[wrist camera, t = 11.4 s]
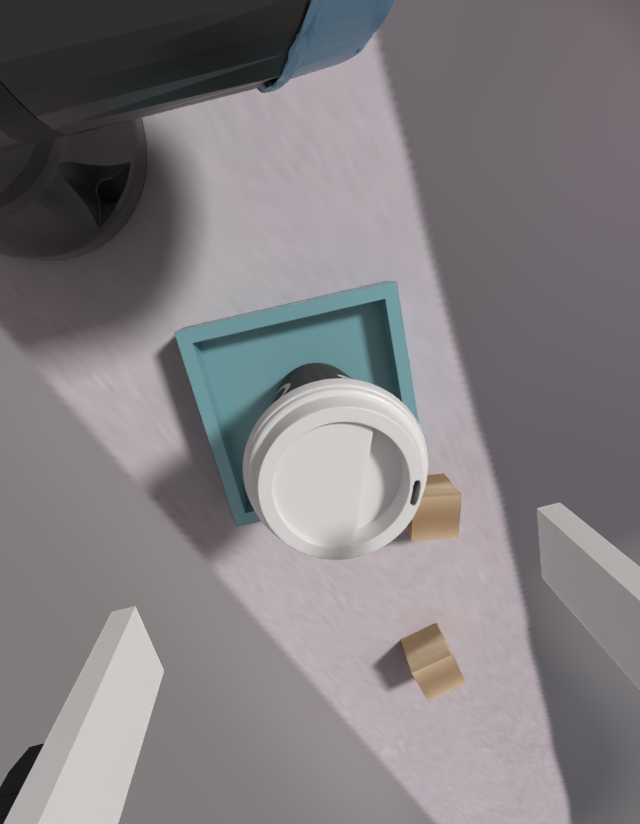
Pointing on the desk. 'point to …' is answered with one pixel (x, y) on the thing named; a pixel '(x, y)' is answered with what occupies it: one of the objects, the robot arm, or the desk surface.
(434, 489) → the maple block
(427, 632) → the maple block
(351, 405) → the coffee cup
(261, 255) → the desk surface
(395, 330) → the tray
